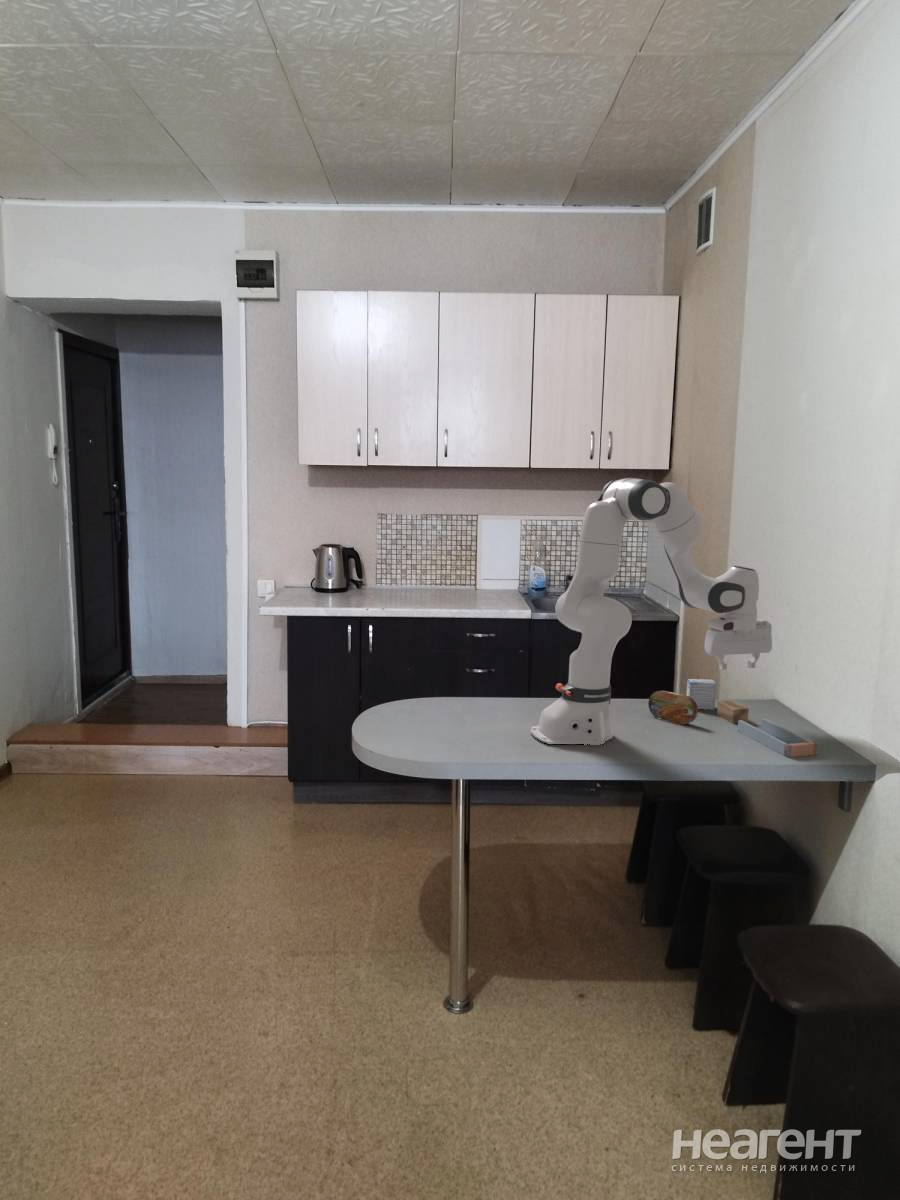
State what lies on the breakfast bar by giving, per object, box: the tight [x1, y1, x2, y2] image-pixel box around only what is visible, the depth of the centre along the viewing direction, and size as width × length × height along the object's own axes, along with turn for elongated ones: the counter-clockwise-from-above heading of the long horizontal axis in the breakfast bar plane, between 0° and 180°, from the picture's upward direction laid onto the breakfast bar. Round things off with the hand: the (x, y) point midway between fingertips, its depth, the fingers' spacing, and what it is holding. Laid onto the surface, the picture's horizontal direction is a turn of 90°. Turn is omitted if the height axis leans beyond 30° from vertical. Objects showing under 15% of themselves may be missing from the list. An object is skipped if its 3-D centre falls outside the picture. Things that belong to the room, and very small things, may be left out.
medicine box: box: [685, 678, 717, 711], centre depth 250 cm, size 8×4×9 cm, turn 84°
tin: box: [647, 690, 699, 725], centre depth 237 cm, size 15×3×8 cm, turn 44°
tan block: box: [716, 700, 749, 725], centre depth 239 cm, size 5×8×4 cm, turn 14°
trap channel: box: [737, 718, 818, 758], centre depth 219 cm, size 9×22×3 cm, turn 14°
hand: (737, 668), depth 236 cm, fingers open, 8 cm apart
